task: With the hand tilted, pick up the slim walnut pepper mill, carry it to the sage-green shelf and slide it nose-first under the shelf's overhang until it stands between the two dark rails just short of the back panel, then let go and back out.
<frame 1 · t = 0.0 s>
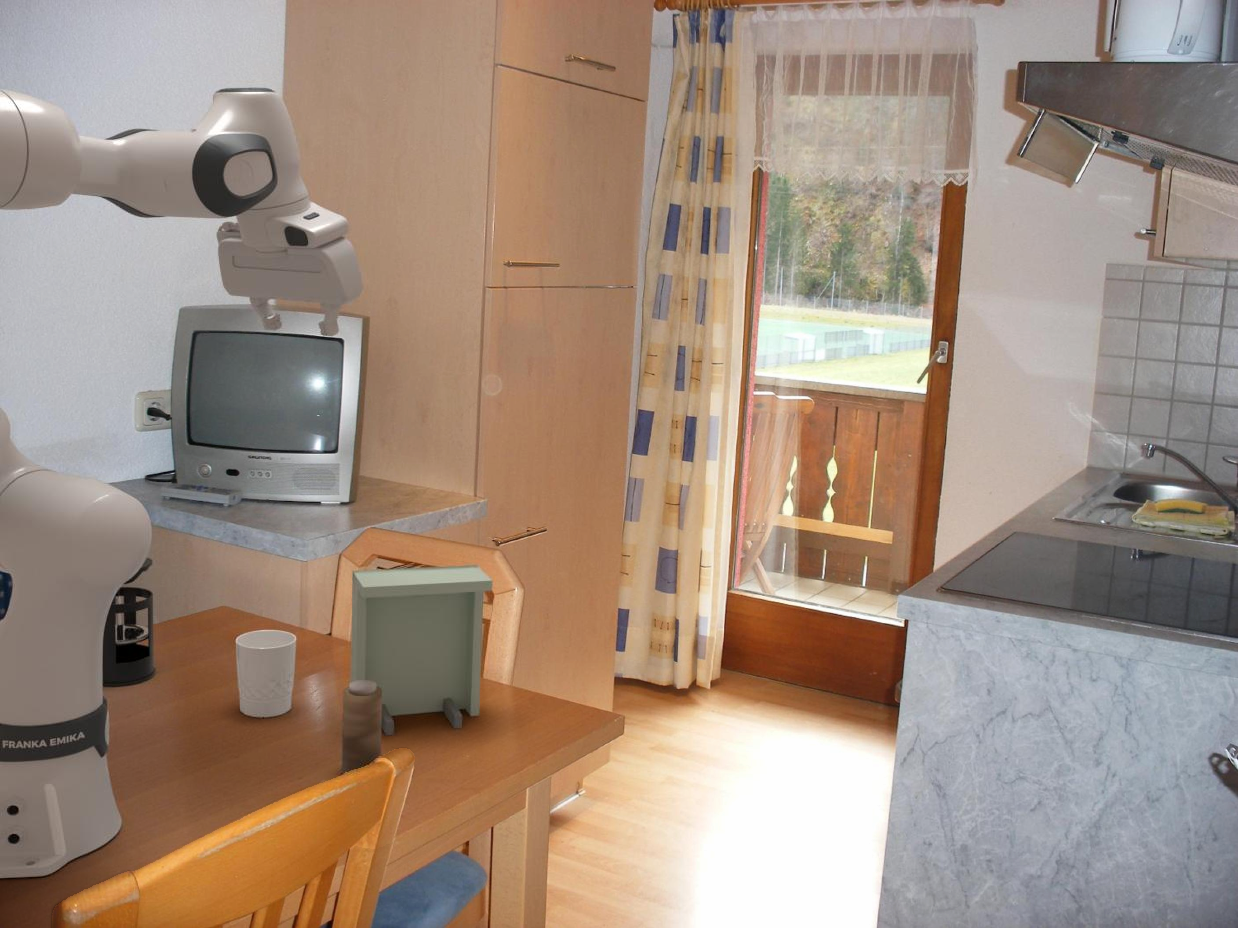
hand: (301, 331, 148), 52 cm above the table, tool tilted 20°, fingers open, 8 cm apart
french press: (117, 676, 170), on the table
white cup: (265, 710, 161), on the table
shelf: (419, 722, 159), on the table
pepper mill: (361, 770, 143), on the table
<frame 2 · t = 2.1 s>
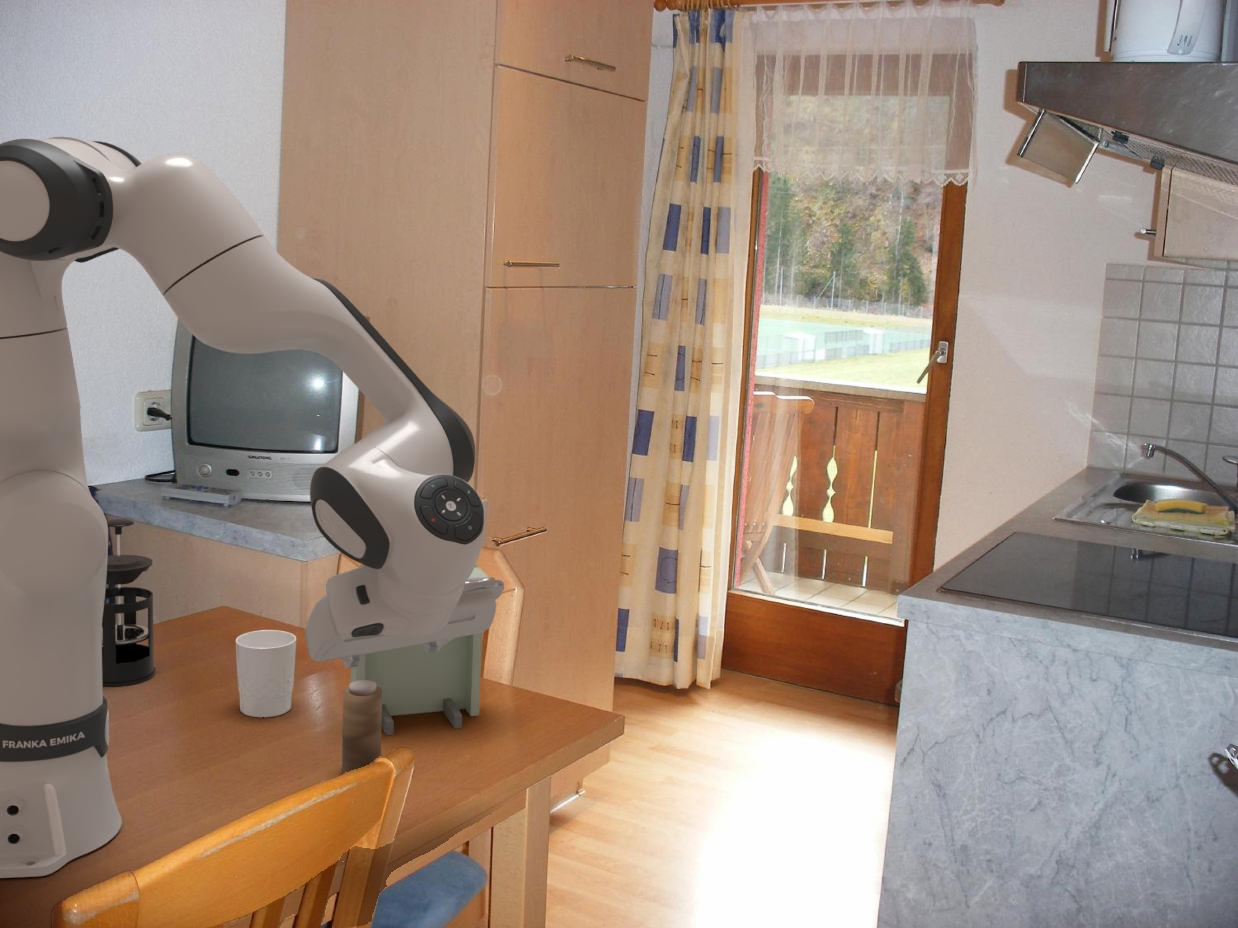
hand: (390, 654, 131), 18 cm above the table, tool tilted 45°, fingers open, 8 cm apart
nothing on the table moved.
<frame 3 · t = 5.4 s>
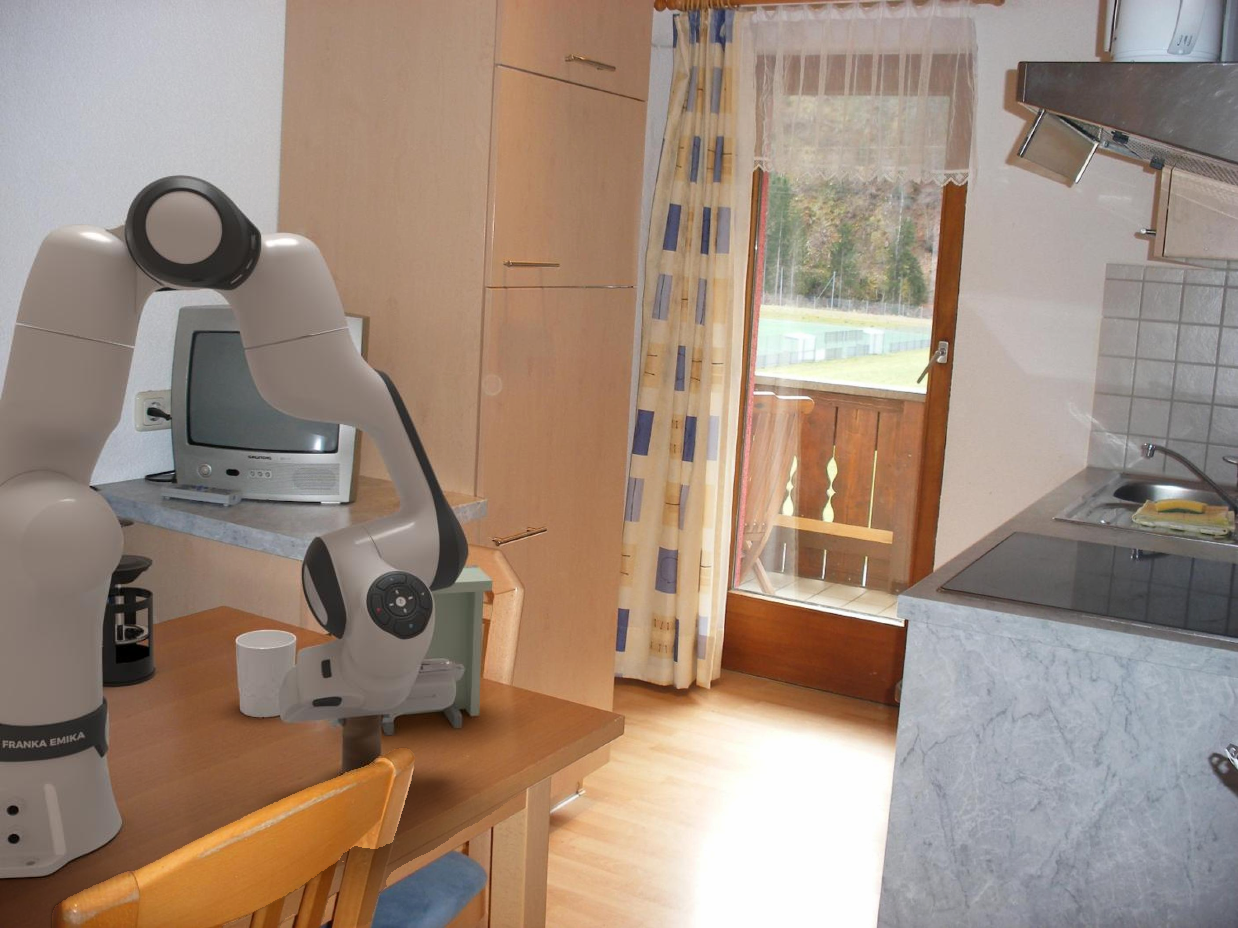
hand: (361, 718, 143), 6 cm above the table, tool tilted 45°, fingers closed on pepper mill, 5 cm apart
pepper mill: (361, 770, 143), on the table, touching gripper
everything else where it was.
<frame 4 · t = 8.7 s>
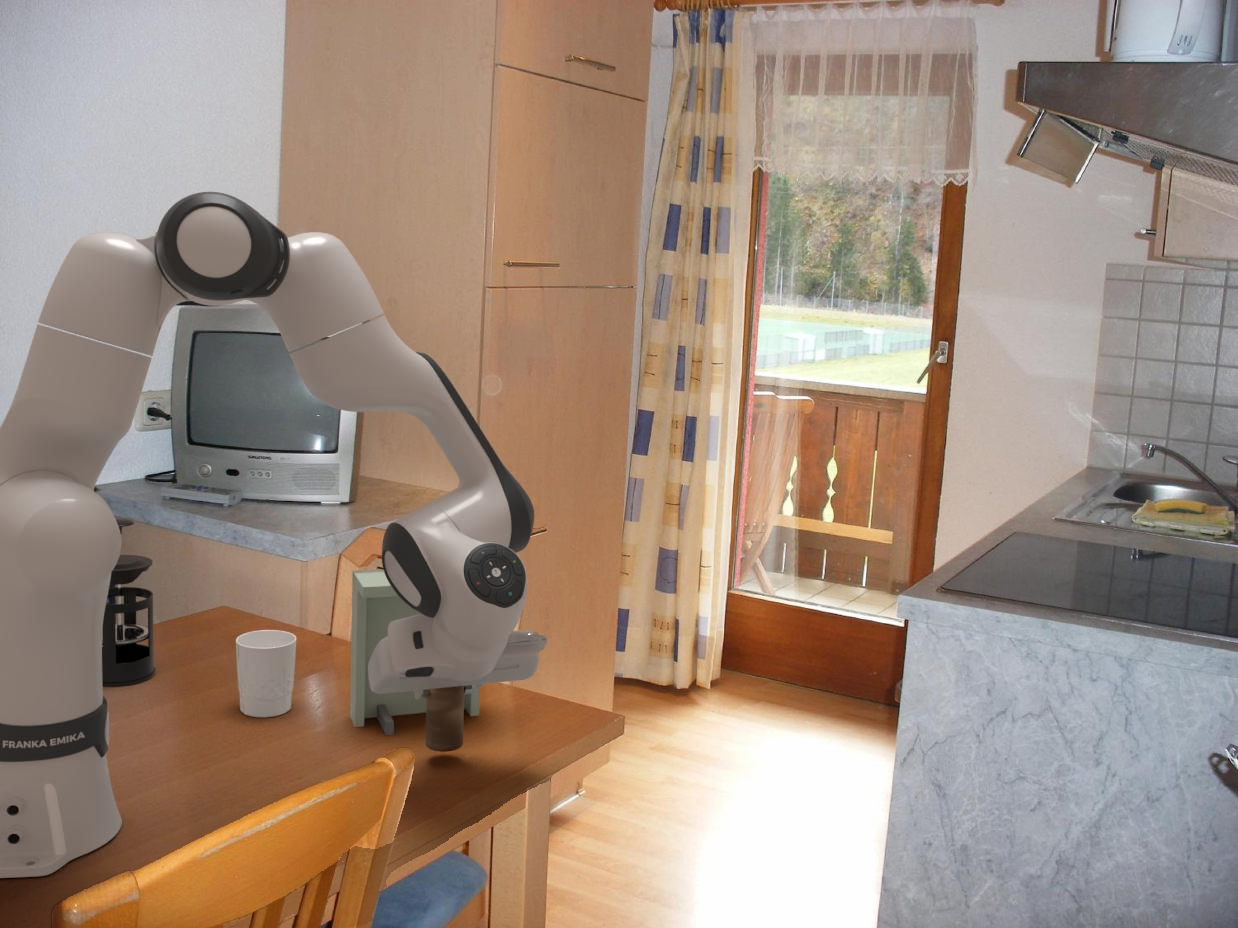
hand: (444, 690, 146), 9 cm above the table, tool tilted 45°, fingers closed on pepper mill, 5 cm apart
pepper mill: (444, 743, 147), point 2 cm above the table, touching gripper
everything else where it was.
when the fingers open (8 cm above the table, at t = 11.8 s): pepper mill stays where it is, on the table.
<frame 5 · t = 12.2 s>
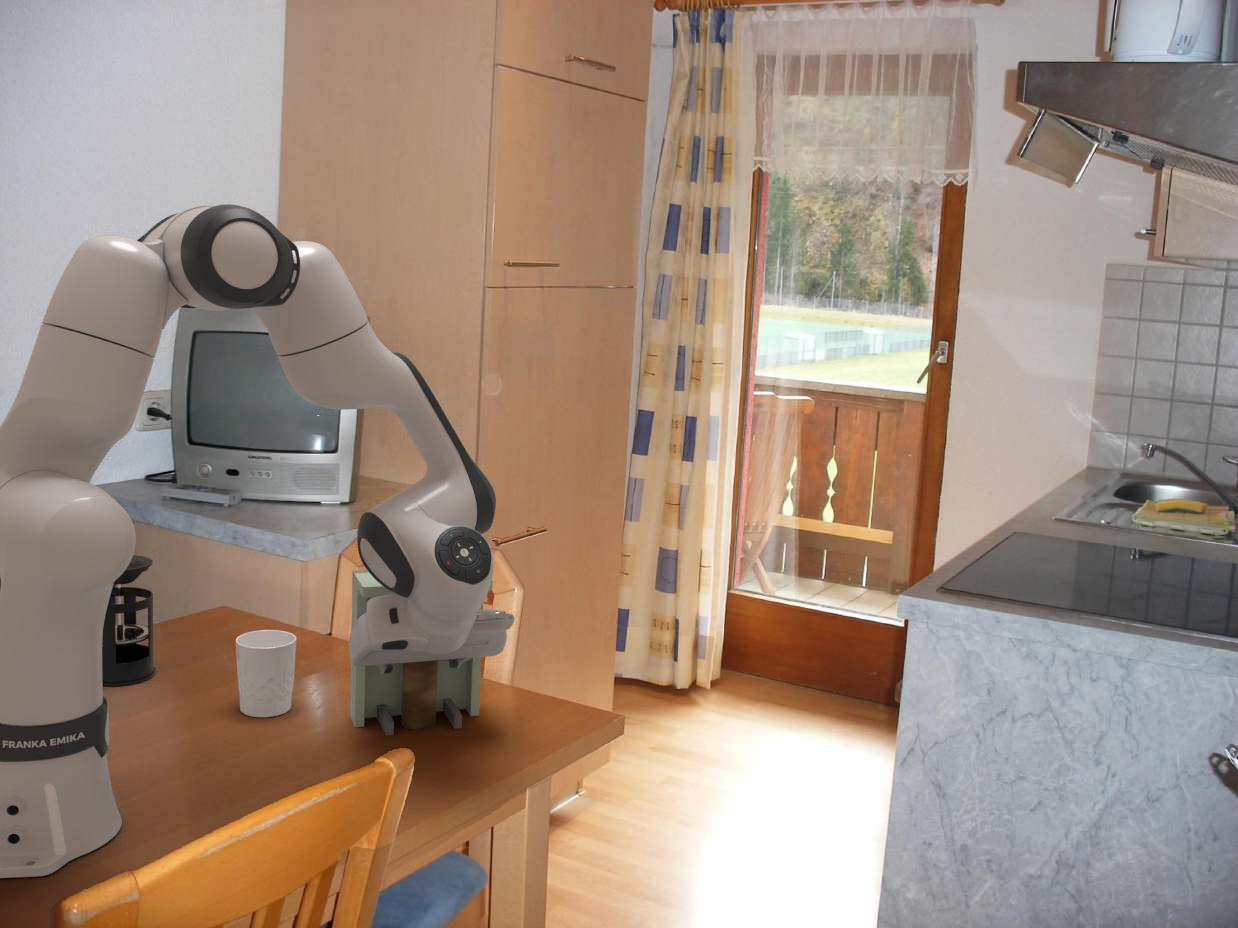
hand: (419, 665, 158), 8 cm above the table, tool tilted 45°, fingers open, 8 cm apart
pepper mill: (418, 722, 159), on the table
everything else where it was.
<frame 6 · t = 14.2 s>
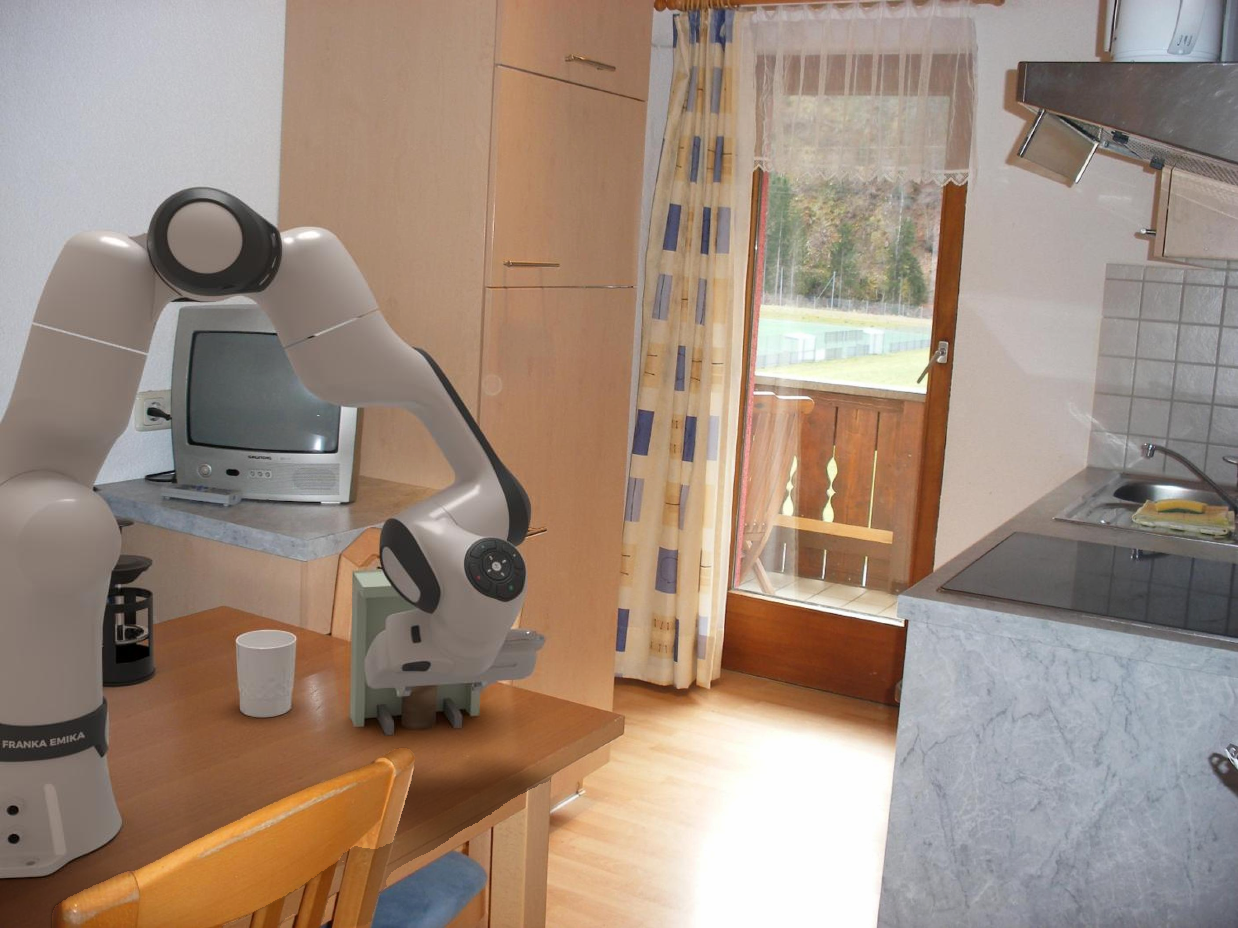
hand: (440, 688, 145), 10 cm above the table, tool tilted 45°, fingers open, 8 cm apart
nothing on the table moved.
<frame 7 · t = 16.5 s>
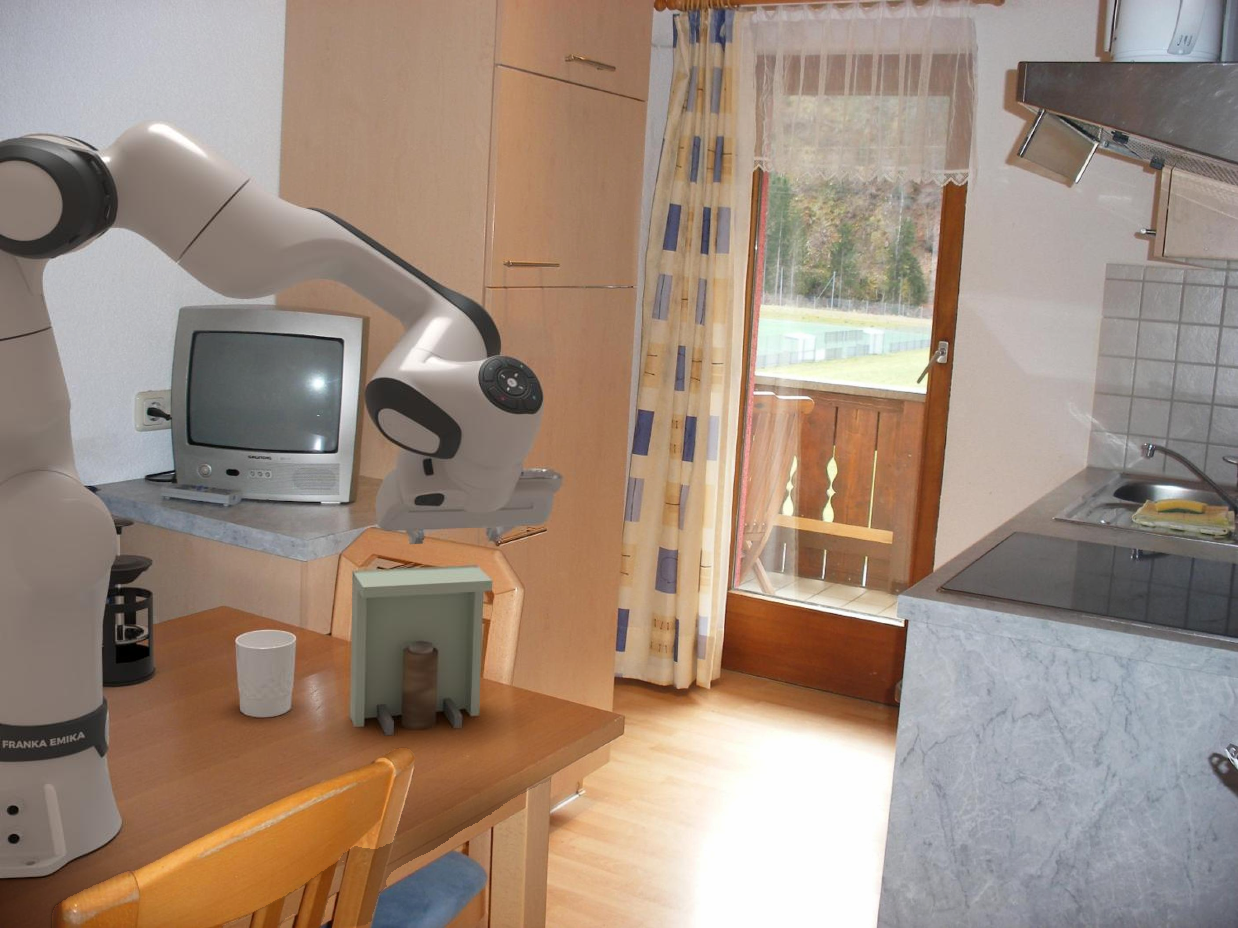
hand: (454, 537, 140), 29 cm above the table, tool tilted 45°, fingers open, 8 cm apart
nothing on the table moved.
at the end: pepper mill inside the target area on the shelf (0.1 cm from its centre), point 0.0 cm above the shelf's base; pepper mill tilted 0°; the gripper is holding nothing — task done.
